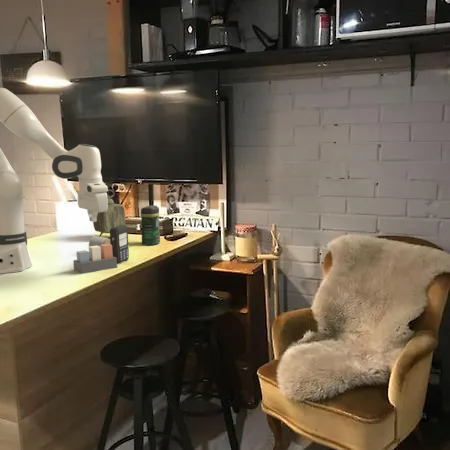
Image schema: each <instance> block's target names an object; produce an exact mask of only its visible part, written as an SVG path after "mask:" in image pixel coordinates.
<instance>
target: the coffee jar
mask: <svg viewBox="0 0 450 450" xmlns="http://www.w3.org/2000/svg"><path fill="white" fill-rule="evenodd" d="M140 219H141V244H142V245H145V246H152V245H153V246H155V245H158V244H159V243H161V234H160V208H159V207H158V206H157V205H154V204H153V205H152V204H149V205H148V206H144V207H142V208H141V209H140Z"/></svg>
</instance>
